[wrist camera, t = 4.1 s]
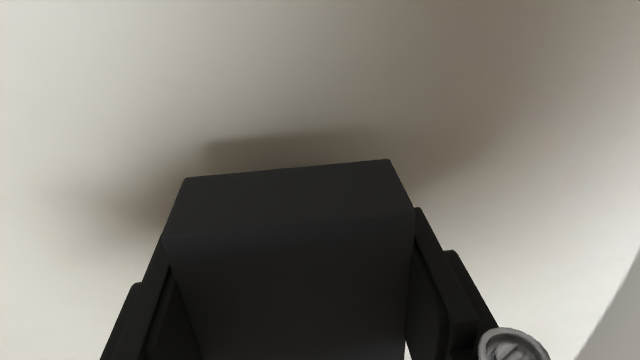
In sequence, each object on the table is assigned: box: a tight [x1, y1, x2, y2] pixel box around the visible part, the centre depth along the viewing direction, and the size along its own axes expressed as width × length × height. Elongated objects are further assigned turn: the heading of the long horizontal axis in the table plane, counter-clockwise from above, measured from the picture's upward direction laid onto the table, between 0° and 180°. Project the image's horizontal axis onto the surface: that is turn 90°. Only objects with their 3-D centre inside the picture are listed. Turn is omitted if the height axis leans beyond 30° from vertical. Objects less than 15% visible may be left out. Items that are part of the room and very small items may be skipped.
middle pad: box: [161, 159, 416, 360], centre depth 11 cm, size 6×6×2 cm
